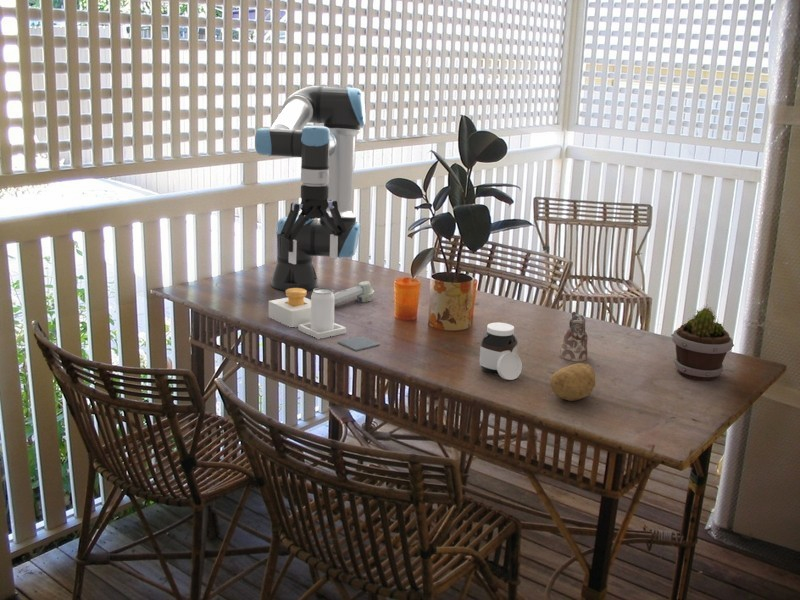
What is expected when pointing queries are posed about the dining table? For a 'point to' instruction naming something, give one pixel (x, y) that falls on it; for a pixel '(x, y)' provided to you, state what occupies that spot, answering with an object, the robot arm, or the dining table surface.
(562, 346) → the figurine
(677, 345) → the flowerpot
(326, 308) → the can
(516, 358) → the spread jar
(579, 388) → the potato
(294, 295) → the plunger
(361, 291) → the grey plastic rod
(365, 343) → the mat
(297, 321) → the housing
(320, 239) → the robot arm
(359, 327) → the dining table surface
